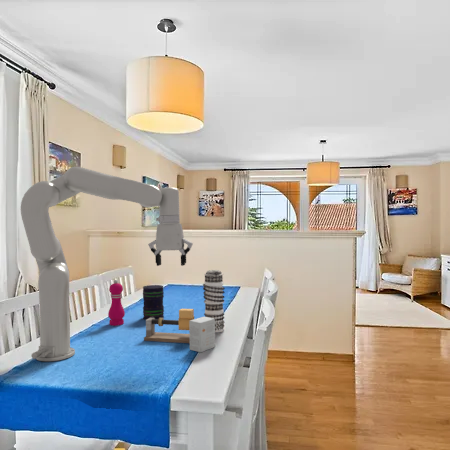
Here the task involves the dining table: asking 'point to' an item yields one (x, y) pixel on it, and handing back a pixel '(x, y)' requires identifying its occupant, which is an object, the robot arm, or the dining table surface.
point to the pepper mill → (116, 305)
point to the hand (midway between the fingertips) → (170, 265)
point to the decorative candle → (214, 298)
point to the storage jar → (153, 301)
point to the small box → (202, 334)
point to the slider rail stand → (164, 337)
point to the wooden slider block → (185, 318)
